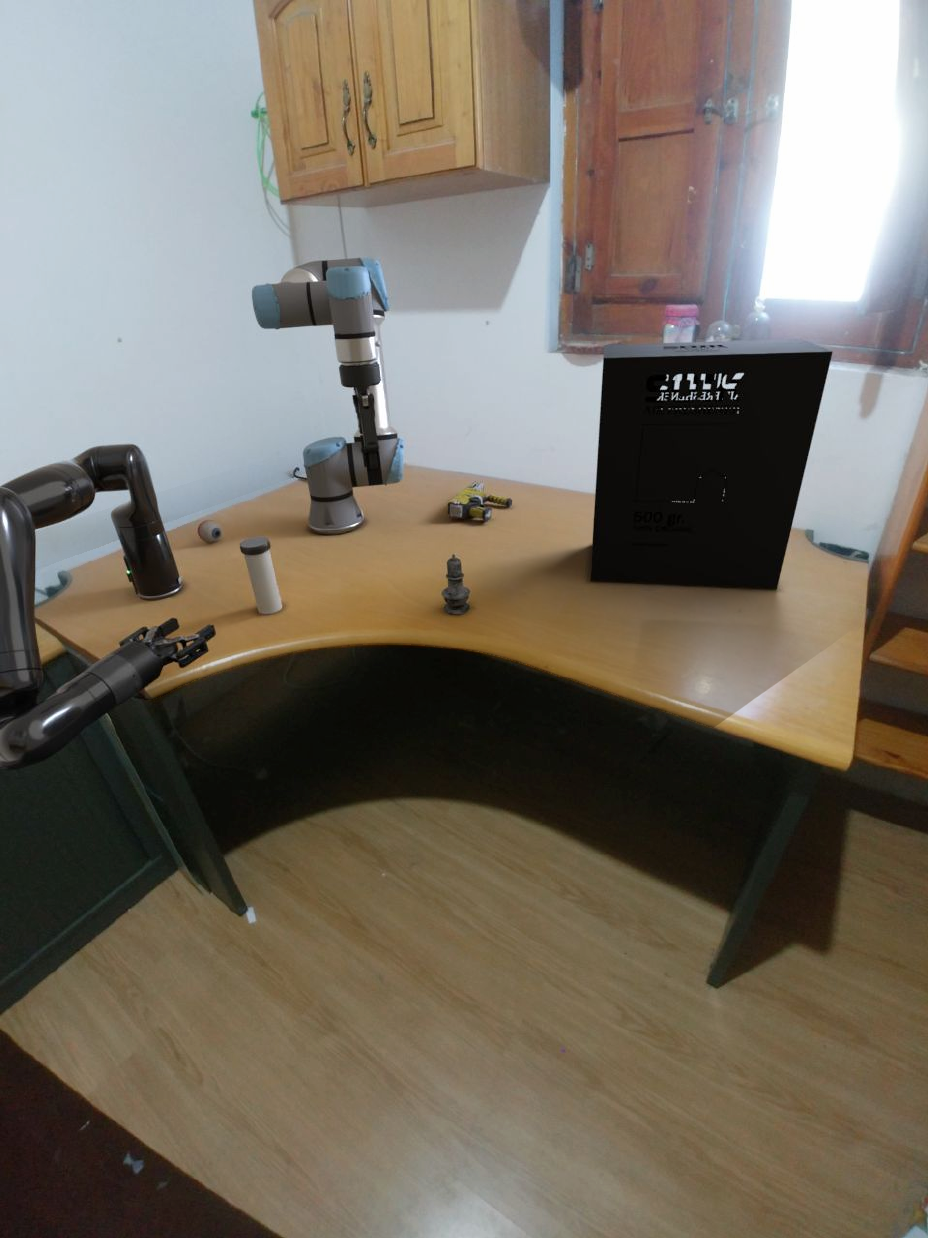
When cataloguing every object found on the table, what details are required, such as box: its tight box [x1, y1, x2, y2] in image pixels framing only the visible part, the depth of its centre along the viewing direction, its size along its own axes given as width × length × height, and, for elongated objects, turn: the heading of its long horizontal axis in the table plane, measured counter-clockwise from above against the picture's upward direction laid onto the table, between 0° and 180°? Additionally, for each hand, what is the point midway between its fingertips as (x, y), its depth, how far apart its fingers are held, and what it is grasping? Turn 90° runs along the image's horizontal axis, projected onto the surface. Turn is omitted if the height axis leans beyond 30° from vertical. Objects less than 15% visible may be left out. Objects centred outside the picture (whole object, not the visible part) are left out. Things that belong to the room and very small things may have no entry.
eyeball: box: [197, 519, 223, 544], centre depth 161 cm, size 6×6×6 cm
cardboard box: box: [589, 338, 834, 590], centre depth 125 cm, size 38×20×45 cm, turn 78°
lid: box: [239, 536, 272, 555], centre depth 121 cm, size 6×6×2 cm
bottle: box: [243, 549, 283, 615], centre depth 125 cm, size 5×5×15 cm
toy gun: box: [446, 480, 513, 523], centre depth 174 cm, size 5×24×15 cm
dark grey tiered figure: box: [441, 553, 471, 615], centre depth 121 cm, size 6×6×12 cm
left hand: (194, 625), depth 109 cm, fingers open, 8 cm apart
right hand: (373, 474), depth 123 cm, fingers open, 13 cm apart
